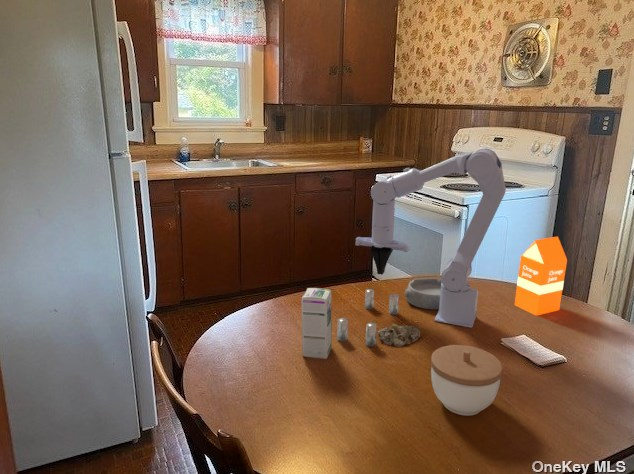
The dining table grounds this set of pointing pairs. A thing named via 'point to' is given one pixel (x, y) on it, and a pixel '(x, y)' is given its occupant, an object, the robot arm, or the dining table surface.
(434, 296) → the dish
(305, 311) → the syrup box
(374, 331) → the spacer posts
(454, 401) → the lidded bowl
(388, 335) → the mineral rock
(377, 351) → the dining table surface
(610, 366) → the dining table surface
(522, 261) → the orange juice
